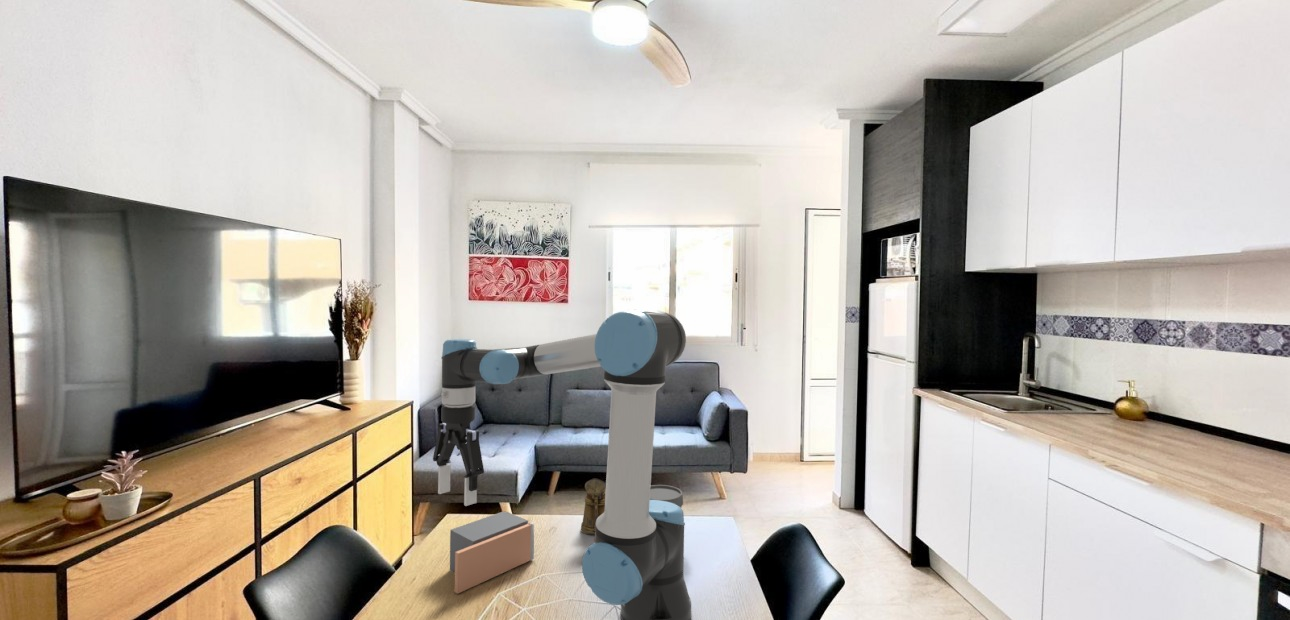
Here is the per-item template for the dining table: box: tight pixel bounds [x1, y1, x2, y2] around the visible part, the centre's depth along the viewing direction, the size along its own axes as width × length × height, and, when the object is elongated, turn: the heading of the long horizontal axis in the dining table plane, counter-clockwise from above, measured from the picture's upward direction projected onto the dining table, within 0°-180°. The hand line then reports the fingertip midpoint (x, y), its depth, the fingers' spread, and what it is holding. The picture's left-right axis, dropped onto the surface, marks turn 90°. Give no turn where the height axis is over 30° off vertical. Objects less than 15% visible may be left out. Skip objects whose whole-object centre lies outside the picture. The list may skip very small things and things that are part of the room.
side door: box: [454, 522, 535, 594], centre depth 123 cm, size 2×22×9 cm, turn 141°
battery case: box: [449, 510, 529, 574], centre depth 129 cm, size 10×16×10 cm, turn 141°
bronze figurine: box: [580, 477, 606, 536], centre depth 149 cm, size 9×14×18 cm, turn 2°
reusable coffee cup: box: [650, 484, 684, 509], centre depth 140 cm, size 13×13×15 cm
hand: (456, 498), depth 120 cm, fingers open, 11 cm apart
